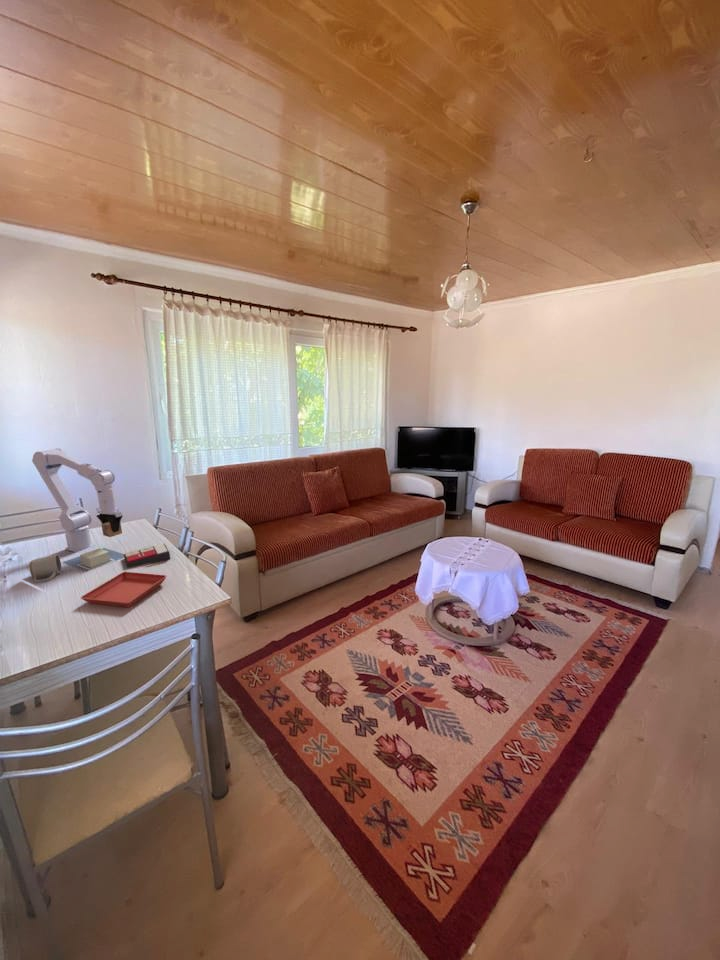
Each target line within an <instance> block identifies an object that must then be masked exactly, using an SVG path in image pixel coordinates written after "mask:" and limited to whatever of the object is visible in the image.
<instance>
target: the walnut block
mask: <svg viewBox="0 0 720 960" xmlns="http://www.w3.org/2000/svg"><path fill="white" fill-rule="evenodd" d="M101 529H102V535H103V536H104V537H109V538H112V537H116V536H118V535H122V534H123V532H122V531H123V530H122V524H121V522H120V525H119V531H117V532H113V531H112V529H111V525H110V523H109V522H107V523H103V524H102V523H101Z"/></svg>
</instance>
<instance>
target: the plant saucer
mask: <svg viewBox="0 0 720 960" xmlns="http://www.w3.org/2000/svg"><path fill="white" fill-rule="evenodd" d="M166 578H167V575H164V574H155V573H154V574H153V573H145V572H144V573H143V572H132V571H131V572H130V571H122V572H121V573H119V574H117V575H115V576H114V577H113V578H111V579H109V580H106V582H104V583H102V584H101V585H99V586H97V587H96V588H93V589H92V590H90V591H89V592H86V593H84V594H83V595H82V596H81V597H80V599H81V600H82V601H85V602H87V603H90V604H93V603H94V605H102V604H103V605H104V606H111V605H112V606H114V607H121V608H122V607H123V608H130V607H132V606H133V605H135V604H137V602H139V601H140V600H141V599H143V598H145V597H146V596H148V595H149V594H150V593H152V592H153V591H155V590H156V589H158V587H160V586H161V585H162V584H163V583H164V581H165V579H166ZM103 605H102V606H103Z"/></svg>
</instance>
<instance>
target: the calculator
mask: <svg viewBox="0 0 720 960" xmlns="http://www.w3.org/2000/svg"><path fill="white" fill-rule="evenodd" d="M123 554H124V558H123V559H124V560H125V564H126V567H127V569H129V568H134V567H140V566H141V565H142V566H143V565H146V564H147V565H148V564H149V565H152V564H155V563H160V561H161V562H165V561H168V560H171V554H170V551H169V549H168V547H167V545H166V544H165V543H159V544H155V545H150V546H146V547H142V548H139V549H135V550H129V551H127V552H124V553H123ZM151 563H152V564H151Z"/></svg>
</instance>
